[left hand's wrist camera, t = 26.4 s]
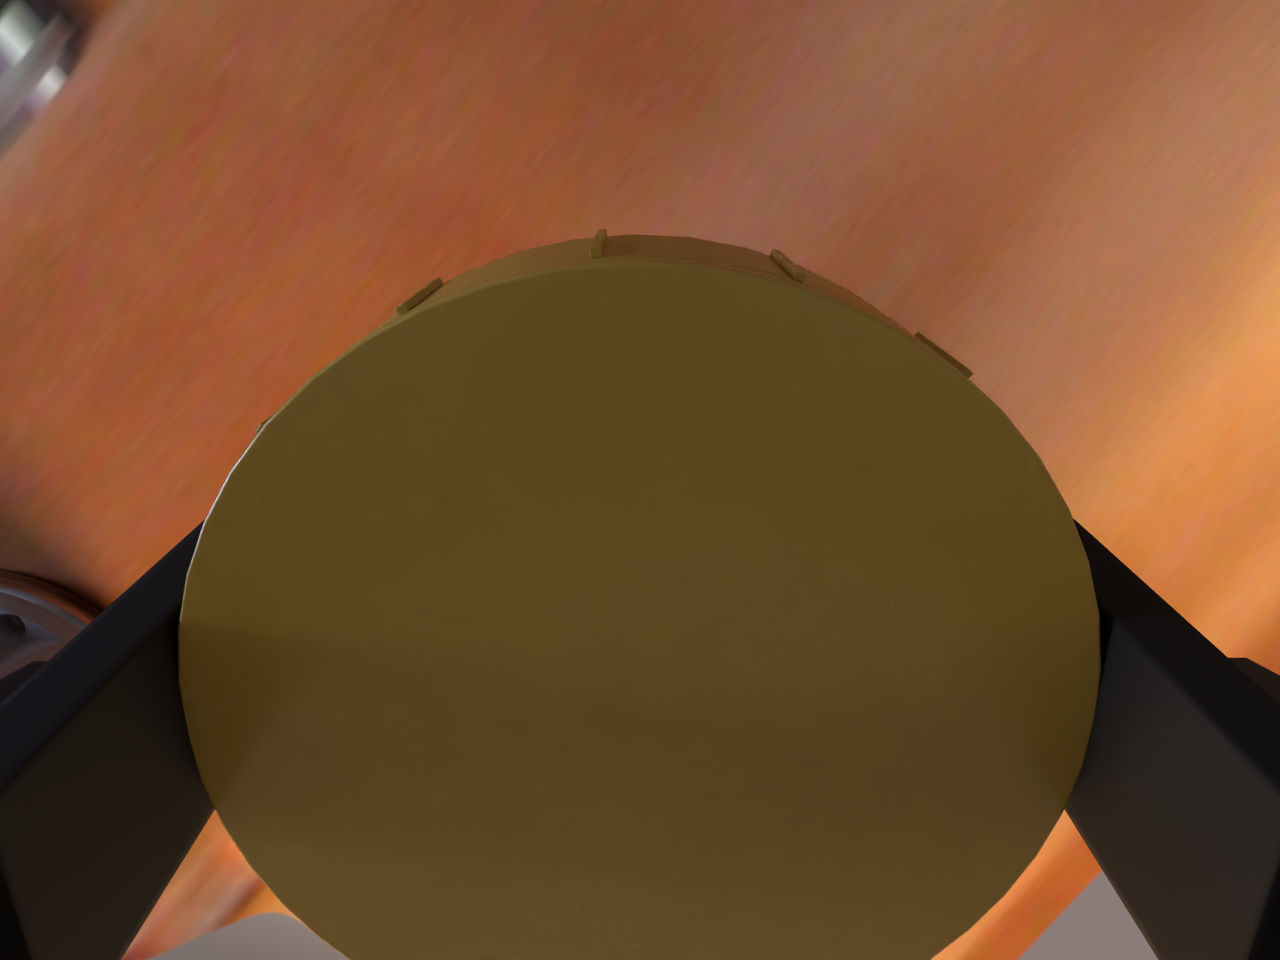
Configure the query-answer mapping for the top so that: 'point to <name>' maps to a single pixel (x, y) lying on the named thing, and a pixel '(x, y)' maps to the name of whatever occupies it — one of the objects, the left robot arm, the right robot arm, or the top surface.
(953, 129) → the top surface
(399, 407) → the lid
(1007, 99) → the top surface
